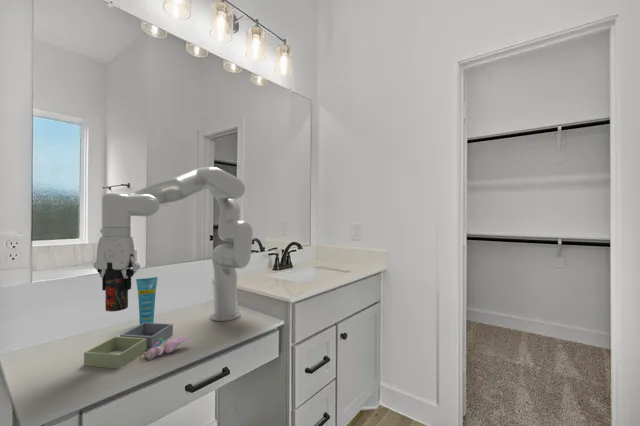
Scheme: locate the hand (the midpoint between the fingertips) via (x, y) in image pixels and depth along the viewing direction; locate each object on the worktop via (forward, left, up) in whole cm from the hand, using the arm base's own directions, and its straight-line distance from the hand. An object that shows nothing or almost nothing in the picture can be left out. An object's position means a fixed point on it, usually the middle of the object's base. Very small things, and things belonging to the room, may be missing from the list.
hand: (116, 289), depth 96 cm
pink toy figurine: (-5, +13, -22) cm, 26 cm away
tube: (-26, -9, -22) cm, 35 cm away
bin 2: (-13, +1, -22) cm, 25 cm away
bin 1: (0, 0, -22) cm, 22 cm away
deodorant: (0, 0, -6) cm, 6 cm away
